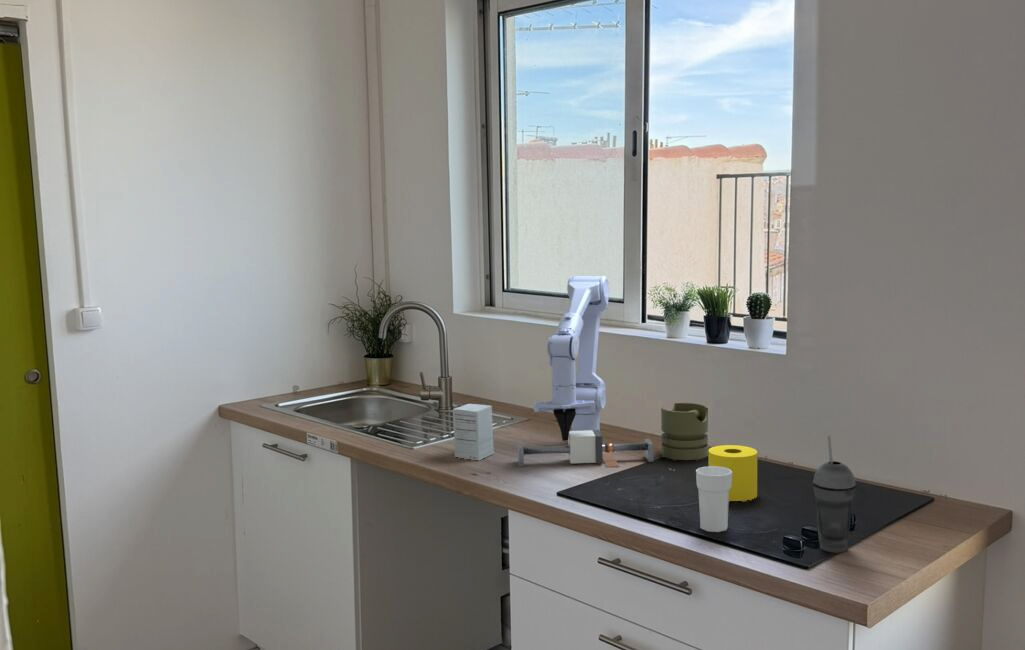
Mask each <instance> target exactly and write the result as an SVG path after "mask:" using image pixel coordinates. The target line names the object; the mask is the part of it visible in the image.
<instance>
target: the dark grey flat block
mask: <svg viewBox="0 0 1025 650" xmlns="http://www.w3.org/2000/svg"><path fill="white" fill-rule="evenodd" d="M592 431H593V432H594V434H595V445H596V464H602V463H604V461H603V454H604V452H602V444H603V435H602V433H601V431H599V430H592Z"/></svg>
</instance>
